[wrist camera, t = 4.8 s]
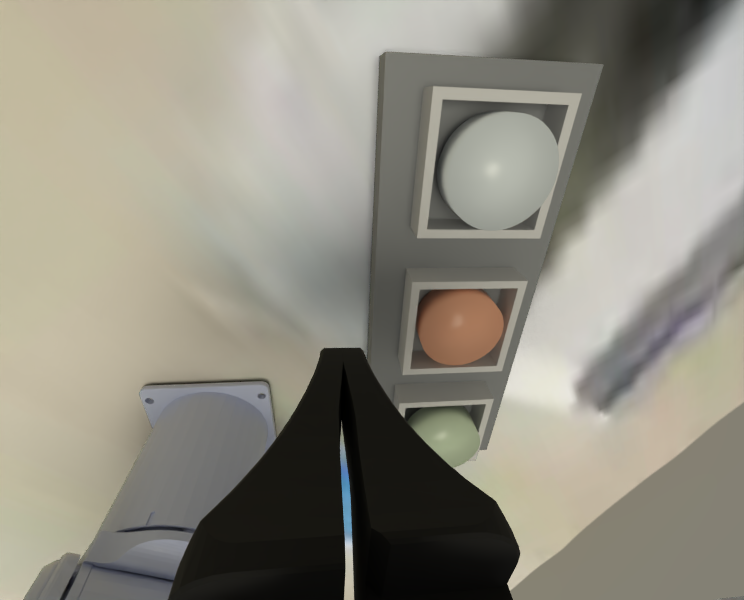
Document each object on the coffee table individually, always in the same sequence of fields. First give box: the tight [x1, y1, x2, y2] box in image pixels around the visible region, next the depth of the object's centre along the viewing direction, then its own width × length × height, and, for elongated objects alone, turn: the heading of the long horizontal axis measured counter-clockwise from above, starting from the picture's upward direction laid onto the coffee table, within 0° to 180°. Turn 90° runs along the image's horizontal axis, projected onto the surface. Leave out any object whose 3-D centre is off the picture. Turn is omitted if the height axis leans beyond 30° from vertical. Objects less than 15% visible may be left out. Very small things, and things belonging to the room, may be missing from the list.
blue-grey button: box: [437, 111, 559, 231], centre depth 14 cm, size 4×4×2 cm
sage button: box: [407, 405, 480, 468], centre depth 22 cm, size 4×4×2 cm
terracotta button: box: [415, 289, 504, 365], centre depth 19 cm, size 4×4×2 cm
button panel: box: [367, 52, 604, 461], centre depth 20 cm, size 24×9×4 cm, turn 178°
